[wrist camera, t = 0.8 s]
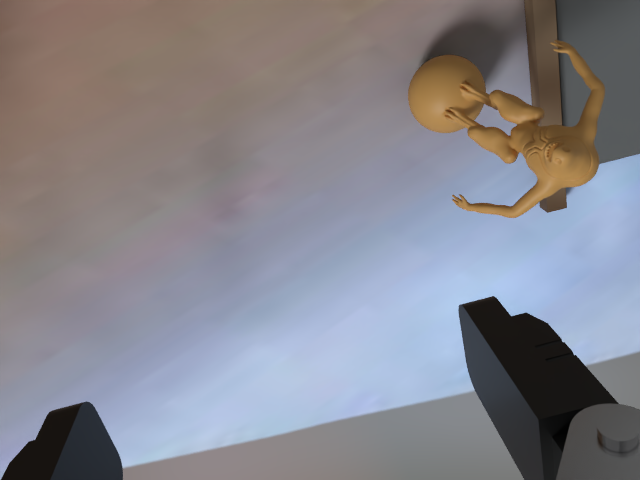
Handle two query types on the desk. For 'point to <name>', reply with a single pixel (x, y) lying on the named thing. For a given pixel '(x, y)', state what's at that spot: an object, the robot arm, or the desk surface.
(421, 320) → the desk surface
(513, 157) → the figurine
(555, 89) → the bar
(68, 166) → the desk surface
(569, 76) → the mat
